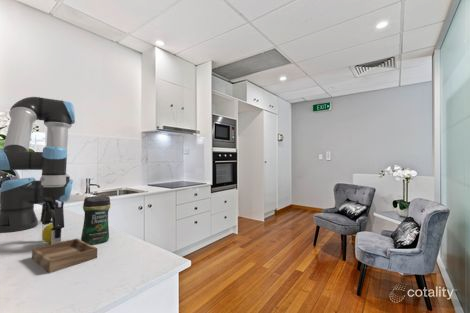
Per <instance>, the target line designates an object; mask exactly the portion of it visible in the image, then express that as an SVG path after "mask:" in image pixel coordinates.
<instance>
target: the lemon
mask: <svg viewBox="0 0 470 313" xmlns="http://www.w3.org/2000/svg"><path fill="white" fill-rule="evenodd" d="M49 224H50V225H48V226H46V227H45V228H44V230H43V233H42V232H41V239H42V238H43V240H44V242H45V243H47V244H49V245H51V240H52V231H51V229H52V228H53V223H49Z"/></svg>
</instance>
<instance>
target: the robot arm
mask: <svg viewBox="0 0 470 313" xmlns="http://www.w3.org/2000/svg"><path fill="white" fill-rule="evenodd" d="M8 113H9V114H8V115H9V117H10V120H9V124H8V129H7V131H6V132H7V133H6V135H5V139H4V143H3V147H2V149H0V171H1V170H2V171H21V170H22V171H23V170H24V171H28V170H29V171H33V170H34V171H40V170H41V177H40V178H39V180H36V177H25V178H16V179H9V180H5V181H3V182H2V183H1V186H0V233H11V232H19V231H24V230H29V229H32V228H35V227H37V226H38V223H39V222H40V223H41V224H42V230H41V234H42V233H43V230H44V228H45V227H46V226H48V225H50V224H51V223H53V228H52V229H51V231H52V240H51V244H50V245H52V244H56V243H60V242H62V229H63V228H65V218H64V217H65V213H64V204H65V202H68V201H70V197H71V194H72V189H73V183H74V180H73V179H71V177H70V175H69V174H67V164H68V163H67V160H68V137H69V129H71V128H72V127H73V126H72V125H75V123H76V117H75V116H76V115H75V107H74V105H73V103H72V102H71V101H65V100H59V99H55V98H54V99H53V98H46V97H40V96H29V97H25V98H22V99H20V100H18V101H17V102H15V103H13V105H12V106H11V107H10V110H9V112H8ZM36 120H37V121H43V125H44V126H45V127H46V129H47V130H46V146H44V147H43V148H42V151H30V150H29V148H30V145H31V144H30V143H31V136H32V132H33V124H34V123H35V122H36ZM35 205H42V206H41V213H40V214H41V216H40V221H39V220H38V217H37V215H36V213H35V210H34V208H35ZM38 221H39V222H38ZM41 242H42V243H43V242H45V241H44V240H43V238H42V237H41Z"/></svg>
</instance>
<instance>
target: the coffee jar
mask: <svg viewBox="0 0 470 313" xmlns="http://www.w3.org/2000/svg"><path fill="white" fill-rule="evenodd" d="M82 209H83V212H84V217H83V219H84V220H83V226H82V231H81V238H80V240H81V241H83V242H85V243H87V244H89V245H92V246H93V245H97V244H103V243H106V242H107V241H109V239H110V230H109V210H110V209H111V198H110V197H109V196H108V195H93V196H86V197H84V200H83V204H82Z"/></svg>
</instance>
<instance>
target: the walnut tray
mask: <svg viewBox="0 0 470 313" xmlns="http://www.w3.org/2000/svg"><path fill="white" fill-rule="evenodd" d="M96 259H98V247H95V246H94V245H93V244H92V245H89V244H87V243H85V242H83V241H81V239H79V238H73V239H68V240H65V241H64V240H63V241H61V242H60V243H56V244H52V245H51V244H49V245H44V246H40V247H35V248H32V250H31V260H33V261H34V262H35V263H37V265H38V266H41V268H42V269H44V270H45V271H46V272H48V273H49V274H51V273H54V272H57V271H62V270H63V269H66V268H69V267H73V266H76V265H79V264H81V263H82V264H83V263H85V262H88V261H91V260H96Z"/></svg>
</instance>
